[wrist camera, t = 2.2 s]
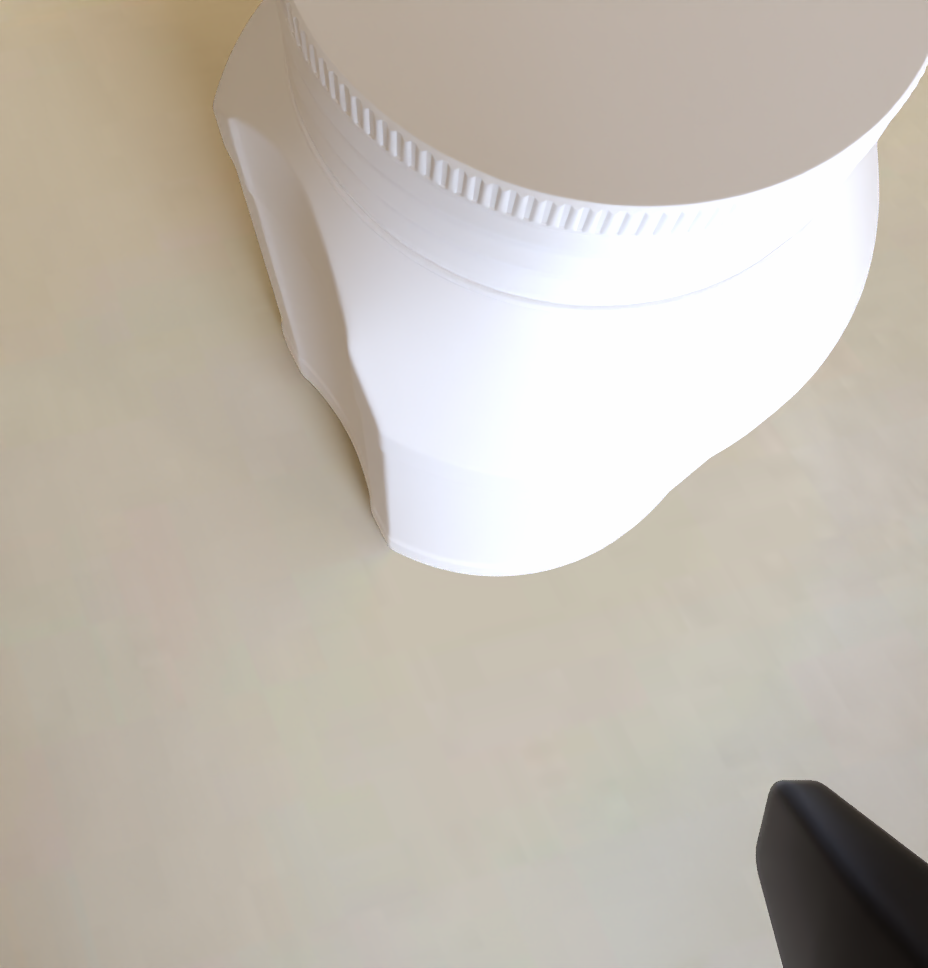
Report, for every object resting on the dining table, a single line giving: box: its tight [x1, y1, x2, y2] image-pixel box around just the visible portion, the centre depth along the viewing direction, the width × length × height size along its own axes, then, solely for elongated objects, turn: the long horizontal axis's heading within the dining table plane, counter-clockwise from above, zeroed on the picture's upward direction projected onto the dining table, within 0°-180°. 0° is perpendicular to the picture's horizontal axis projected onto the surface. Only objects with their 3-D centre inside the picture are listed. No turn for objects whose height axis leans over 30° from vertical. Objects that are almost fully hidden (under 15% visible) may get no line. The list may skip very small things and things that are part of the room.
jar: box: [213, 0, 928, 576], centre depth 18 cm, size 12×10×15 cm
